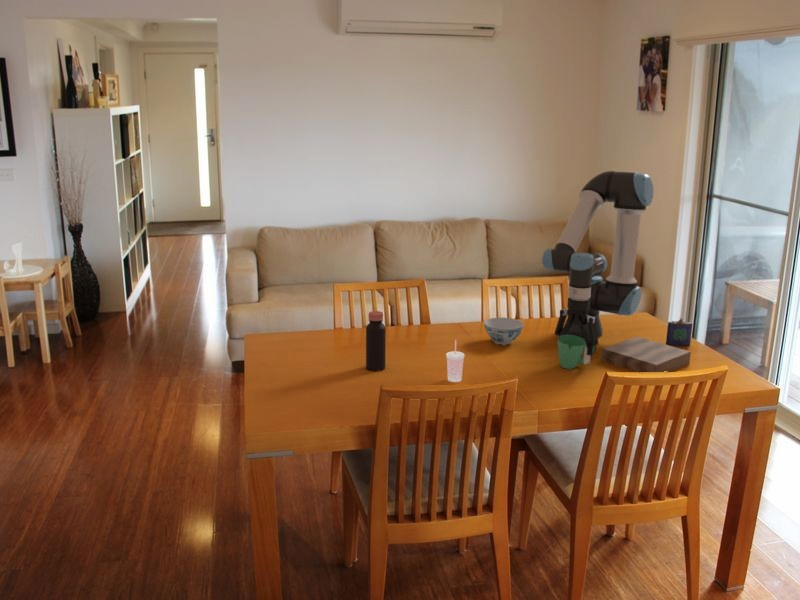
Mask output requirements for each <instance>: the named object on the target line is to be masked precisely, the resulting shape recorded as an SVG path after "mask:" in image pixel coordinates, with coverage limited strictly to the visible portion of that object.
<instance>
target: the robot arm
mask: <svg viewBox="0 0 800 600" xmlns="http://www.w3.org/2000/svg"><path fill="white" fill-rule="evenodd" d="M578 199H579V200H578V202H577V204H576V206H575V207H574V210H573V211H572V213H571V215H570V218H569V219H568V221H567V223H566V226H565V227H564V229H563V231H562V233H561V235H560V237H559V239H558V241H557V242H556V244H555V246H554V248H547V249H545V250H544V251H543V253H542V258H541V259H542V260H541V261H542V266H543V268H545V269H546V270H550V271H554V272H555V271H557V272H561V273H562V272H563V273H569V279H568V280H569V281H568V293H567V294H568V295H567V296H568V298H567V304H566V306H567V308H562V309H559V310H560V311H559V317H558V321H557V324H556V328H555V330H554V334H555V336H557V337H559V336H561V335H575V336H578V337H581V338H583V339H584V340H585V342H586V344H587V345H586V346H585V347H584V351H583V357H584V360H583V365H587V364H590V363H591V357H590V355H592V351H593V346H595V345H597V346H598V345H599V339H598V338H600V337H601V336H602V335H603V327H602V322H601V317H600V312H604V313H609V314H615V315H618V316H627V317H629V316H632V315H634V314H635V312H636V311H637V309H638V307H639V304H640V301H641V299H642V288H641V287H640V286H638V280H637V279H636V277H635V268H636V260H637V252H638V251H637V250H638V242H639V235H640V223H641V216H642V214H643V212H645V211H646V210H647V209H646V208H647V206H650V205H651V204H652V202H653V199H654V186H653V181H652V178H651V176H650V175H648V174H646V173H642V172H641V173H640V172H632V171H629V172H628V171H614V170H609V171H608V170H607V171H605V172H604V171H603V172H601V173H599V174H597V175H595V176H593V178H591V179H590V180H588V182H586V184H585V185H584V186H583V187H582V189H581V191H580V193H579V194H578ZM608 202H609V203H613V209H614V210H615V212H616V222H615V231H614V239H613V241H614V242H613V247H612V248H613V249H612V259H611V267H610V274H609V276H607V277H606V278H605V281H603V277H602V276H600V275H602V273H604V272H605V271H606V270H607V268H608V260H607V257H606V256H605V255H604V254H601V253H600V252H599V253H598V252H594V253H590V252H577V250H578V248H579V246H580V244H581V242H582V240H583V238H584V237H585V235H586V233H587V231H588V229H589V228H590V227H589V226H590V225H591V223H592V221H593V219H594V217H595V215H596V213H597V211H598V209H601V208H602V207H603V206H604V203H608ZM592 356H593V355H592Z"/></svg>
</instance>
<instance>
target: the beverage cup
mask: <svg viewBox="0 0 800 600" xmlns="http://www.w3.org/2000/svg"><path fill="white" fill-rule="evenodd" d="M465 355H466V354H465V353H464V352H461V351H457V339H455V340H454V350H453V351H452V350H451V351H449V352H446V354H445V358H446V361H447V362H446V365H447V369H446V370H447V381H448V382H452V383H458V382H461V381H462V380H463V378H462V377H463V370H464V369H463V368H464V358H465Z"/></svg>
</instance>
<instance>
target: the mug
mask: <svg viewBox="0 0 800 600" xmlns="http://www.w3.org/2000/svg"><path fill="white" fill-rule="evenodd" d="M586 345H587V344H586V342H585V339H584V338H581V337H578V336H575V335H567V334H566V335H561V336H557V351H558V359H559V362H560V363H559V364H560V367H562V368H563V369H566V370H574V369H575V368H576V366H579V365H581V364H582V363H583V360H584V356H583V354H584V347H585V346H586ZM597 346H598V345H595V346H593V351H592V355H590V358H591V357H592V356H593V355H594V354H595V353H596V351H597ZM582 356H583V357H582Z"/></svg>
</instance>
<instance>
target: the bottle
mask: <svg viewBox="0 0 800 600" xmlns="http://www.w3.org/2000/svg"><path fill="white" fill-rule="evenodd" d="M368 321H369V323H368V324H367V325H366V326H365V368H366V369H367V370H368V369H369V370H368V371H370V370H374V371H373V372H378V371H377V370H381V371H383V369H384V370H385V369H386V343H387V342H386V339H387V338H386V337H387V335H386V334H387V333H386V330H387V329H386V326H385V324H384V323H383V321H384V312H383V311H378V310H371V311H369V312H368Z"/></svg>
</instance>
